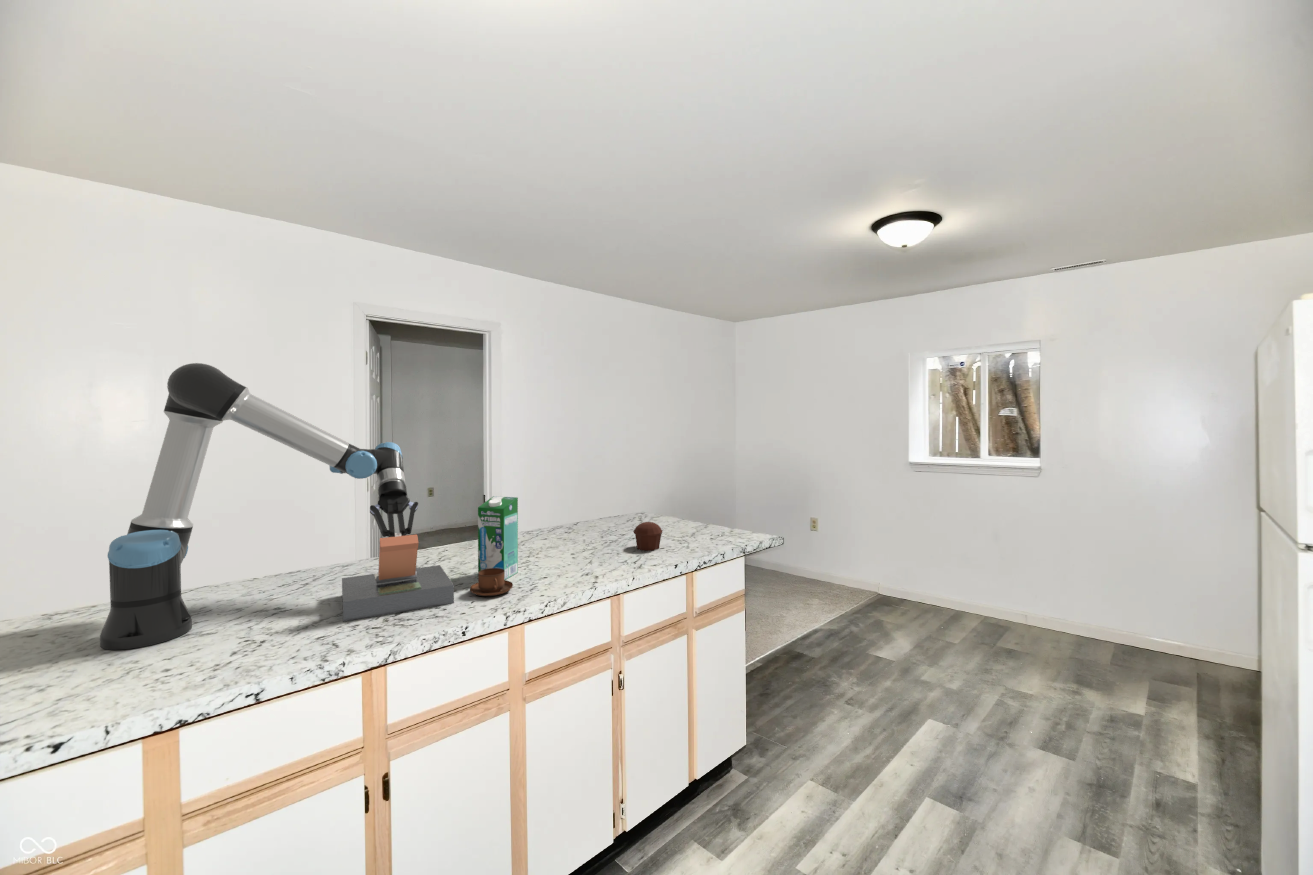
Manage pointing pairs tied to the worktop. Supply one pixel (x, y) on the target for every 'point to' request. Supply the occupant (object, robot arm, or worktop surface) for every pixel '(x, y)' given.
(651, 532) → the muffin
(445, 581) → the box
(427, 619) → the worktop surface
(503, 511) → the milk carton
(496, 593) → the cup and saucer
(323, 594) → the worktop surface
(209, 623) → the worktop surface
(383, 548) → the orange thin slab
